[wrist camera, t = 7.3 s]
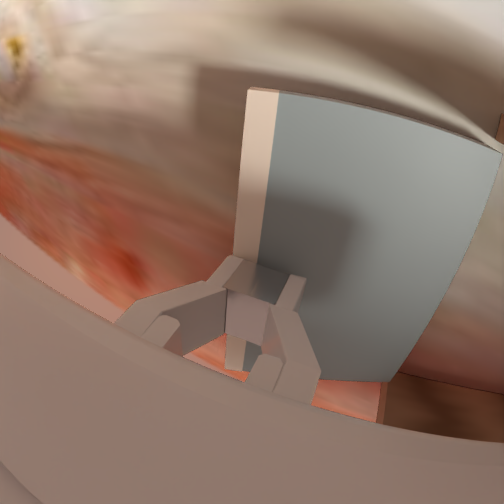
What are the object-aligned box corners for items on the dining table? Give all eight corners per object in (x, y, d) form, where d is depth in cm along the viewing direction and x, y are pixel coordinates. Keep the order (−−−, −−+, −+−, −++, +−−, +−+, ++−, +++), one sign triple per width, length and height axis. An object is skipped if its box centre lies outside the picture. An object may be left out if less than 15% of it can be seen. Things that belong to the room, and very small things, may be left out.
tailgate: (503, 154, 7) (247, 89, 7) (389, 383, 14) (224, 369, 14) (486, 144, 8) (251, 86, 8) (385, 365, 14) (228, 350, 15)
